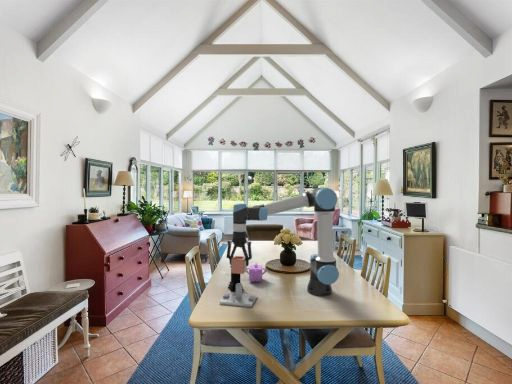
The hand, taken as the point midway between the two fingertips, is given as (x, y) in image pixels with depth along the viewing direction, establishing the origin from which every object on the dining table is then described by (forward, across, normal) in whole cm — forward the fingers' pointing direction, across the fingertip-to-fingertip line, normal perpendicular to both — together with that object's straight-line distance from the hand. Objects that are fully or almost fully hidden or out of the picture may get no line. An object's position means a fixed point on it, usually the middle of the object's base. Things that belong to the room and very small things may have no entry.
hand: (239, 270), depth 160 cm
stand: (+17, 0, 0) cm, 17 cm away
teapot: (+17, -2, -36) cm, 40 cm away
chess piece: (+17, +7, -17) cm, 25 cm away
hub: (0, 0, 0) cm, 0 cm away
